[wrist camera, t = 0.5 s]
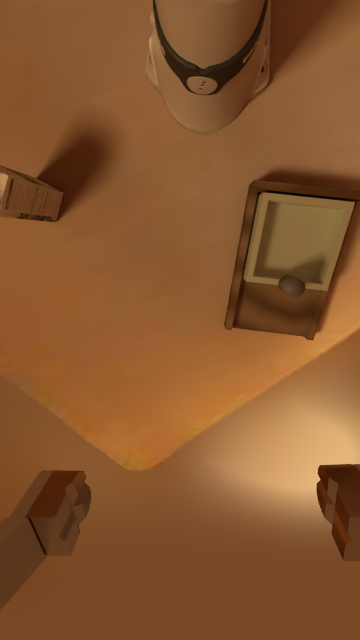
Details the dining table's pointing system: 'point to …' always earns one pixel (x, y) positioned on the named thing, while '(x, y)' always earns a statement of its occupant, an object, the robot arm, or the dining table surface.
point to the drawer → (296, 241)
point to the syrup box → (27, 197)
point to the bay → (268, 300)
